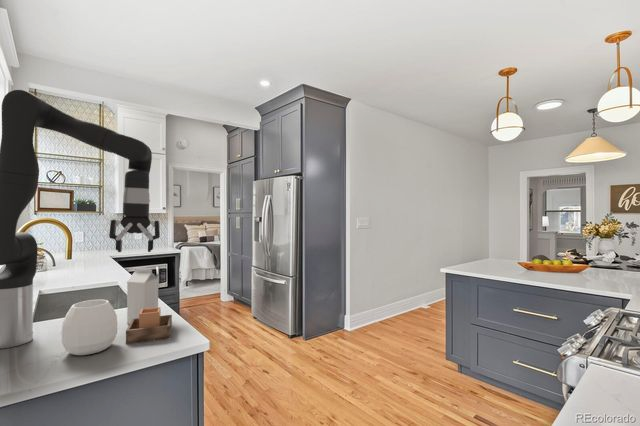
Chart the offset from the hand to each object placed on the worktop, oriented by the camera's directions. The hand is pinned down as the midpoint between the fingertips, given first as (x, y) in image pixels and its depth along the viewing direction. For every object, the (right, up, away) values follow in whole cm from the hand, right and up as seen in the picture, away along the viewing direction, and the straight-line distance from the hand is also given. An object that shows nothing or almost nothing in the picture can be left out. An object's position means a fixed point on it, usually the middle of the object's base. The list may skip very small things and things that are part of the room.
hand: (134, 251), depth 107 cm
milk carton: (-4, -27, +11) cm, 29 cm away
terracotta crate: (+6, -26, -1) cm, 27 cm away
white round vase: (-5, -27, -13) cm, 30 cm away
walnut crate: (+6, -27, -1) cm, 27 cm away
